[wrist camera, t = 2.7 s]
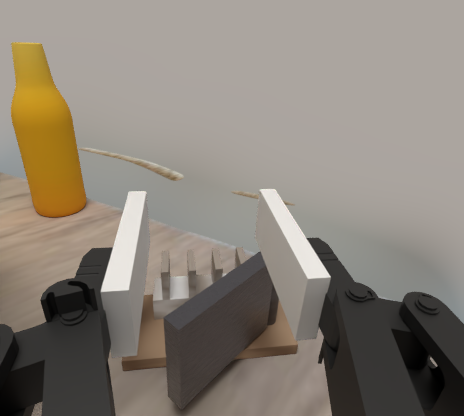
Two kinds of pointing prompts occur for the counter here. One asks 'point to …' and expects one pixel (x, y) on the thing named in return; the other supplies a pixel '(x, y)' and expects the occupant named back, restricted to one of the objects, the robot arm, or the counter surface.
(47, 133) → the beer bottle
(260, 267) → the grey stone panel
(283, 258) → the robot arm
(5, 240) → the counter surface
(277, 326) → the grey model on base
